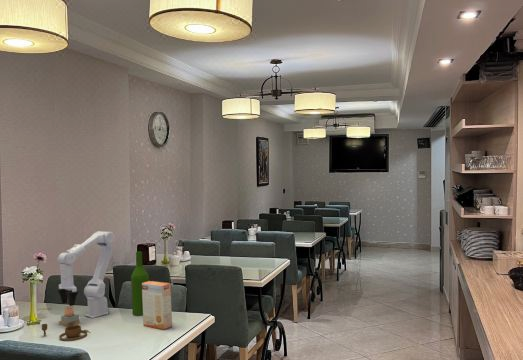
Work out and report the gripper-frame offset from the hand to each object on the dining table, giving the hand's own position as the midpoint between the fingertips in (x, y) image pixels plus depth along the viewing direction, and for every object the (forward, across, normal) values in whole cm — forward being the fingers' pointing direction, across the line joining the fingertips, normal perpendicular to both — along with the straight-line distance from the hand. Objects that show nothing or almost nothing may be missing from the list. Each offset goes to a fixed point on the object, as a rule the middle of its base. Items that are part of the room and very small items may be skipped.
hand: (68, 304), depth 245 cm
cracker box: (+10, +40, +24) cm, 48 cm away
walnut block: (+11, 0, 0) cm, 11 cm away
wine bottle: (+10, +15, +32) cm, 37 cm away
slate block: (+8, 0, 0) cm, 8 cm away
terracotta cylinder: (+6, 0, 0) cm, 6 cm away
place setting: (+11, +16, -9) cm, 21 cm away
